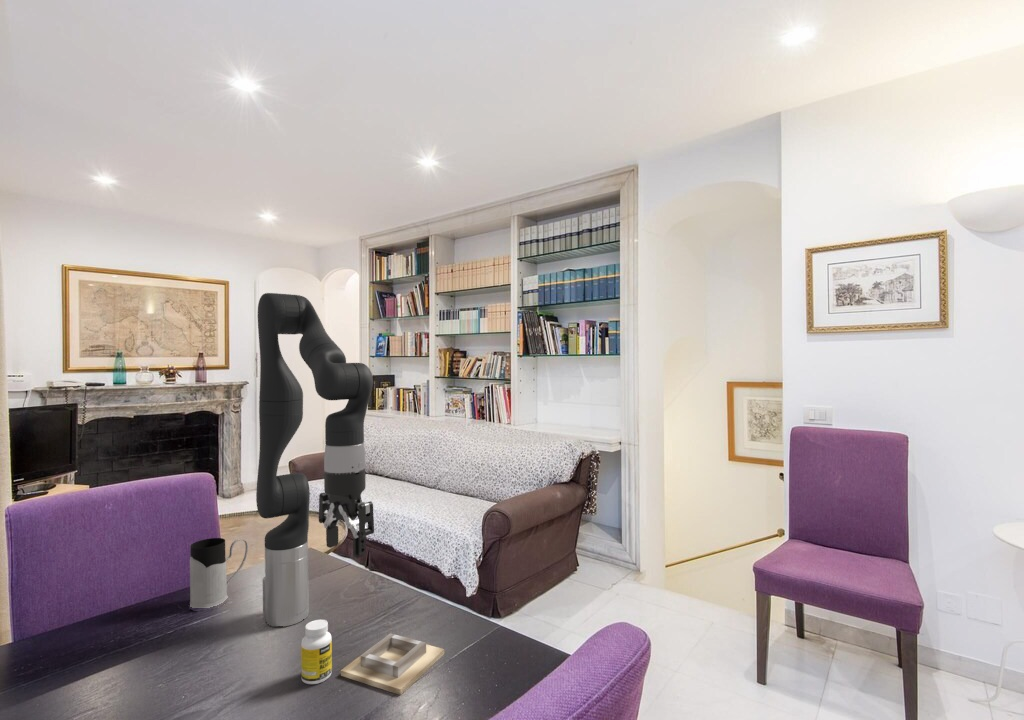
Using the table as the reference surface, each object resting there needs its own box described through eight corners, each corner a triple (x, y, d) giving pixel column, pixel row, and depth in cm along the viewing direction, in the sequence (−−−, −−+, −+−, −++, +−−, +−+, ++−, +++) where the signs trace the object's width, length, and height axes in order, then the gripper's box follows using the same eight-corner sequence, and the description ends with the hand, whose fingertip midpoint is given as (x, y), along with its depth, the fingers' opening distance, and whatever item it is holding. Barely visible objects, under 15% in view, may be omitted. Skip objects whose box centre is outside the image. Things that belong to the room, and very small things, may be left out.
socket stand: (340, 675, 97) (340, 659, 97) (388, 639, 109) (388, 625, 109) (400, 695, 91) (400, 678, 91) (444, 654, 103) (443, 639, 103)
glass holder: (181, 605, 127) (180, 545, 127) (239, 584, 138) (238, 529, 139) (198, 615, 122) (197, 551, 122) (256, 592, 133) (256, 534, 134)
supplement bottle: (321, 687, 94) (321, 633, 94) (295, 683, 95) (294, 630, 95) (337, 669, 99) (336, 618, 99) (312, 666, 100) (311, 616, 100)
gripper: (306, 465, 99) (306, 549, 100) (350, 475, 91) (351, 567, 91) (339, 459, 105) (340, 538, 106) (384, 468, 97) (385, 553, 97)
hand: (345, 551), depth 98 cm, fingers open, 8 cm apart
